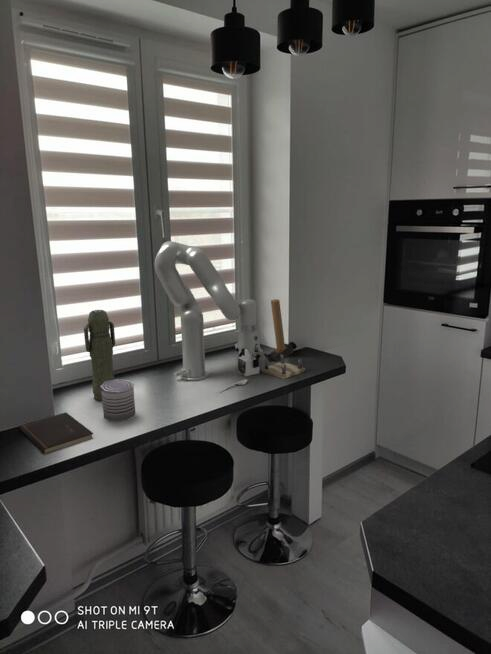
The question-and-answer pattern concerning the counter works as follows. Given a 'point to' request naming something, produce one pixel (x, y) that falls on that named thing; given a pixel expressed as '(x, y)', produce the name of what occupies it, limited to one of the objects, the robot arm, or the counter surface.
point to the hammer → (279, 335)
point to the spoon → (233, 384)
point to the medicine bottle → (246, 364)
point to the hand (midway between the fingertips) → (248, 365)
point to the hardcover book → (55, 432)
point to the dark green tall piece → (100, 349)
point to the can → (118, 400)
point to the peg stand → (283, 368)
